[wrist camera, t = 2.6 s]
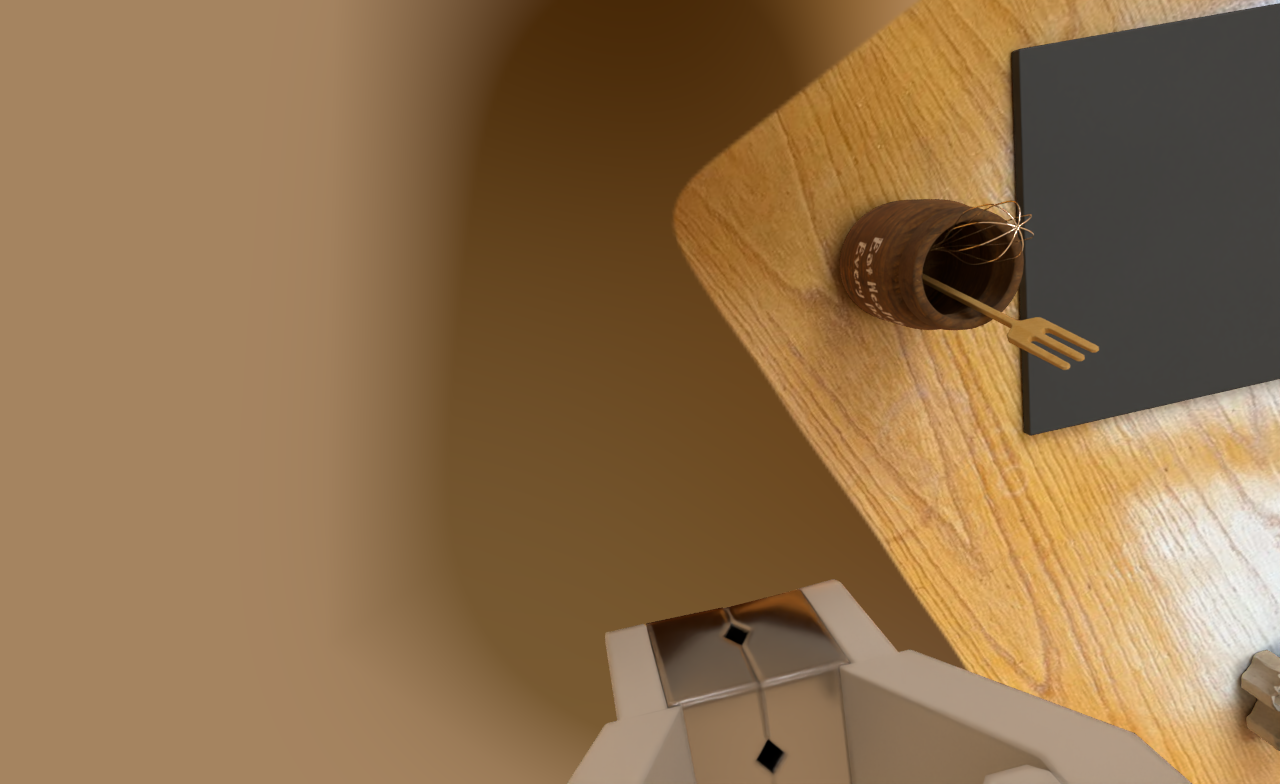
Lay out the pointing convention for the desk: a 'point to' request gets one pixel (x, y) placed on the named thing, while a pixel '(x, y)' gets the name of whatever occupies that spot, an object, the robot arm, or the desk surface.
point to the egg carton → (1264, 696)
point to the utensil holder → (945, 272)
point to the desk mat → (1150, 213)
